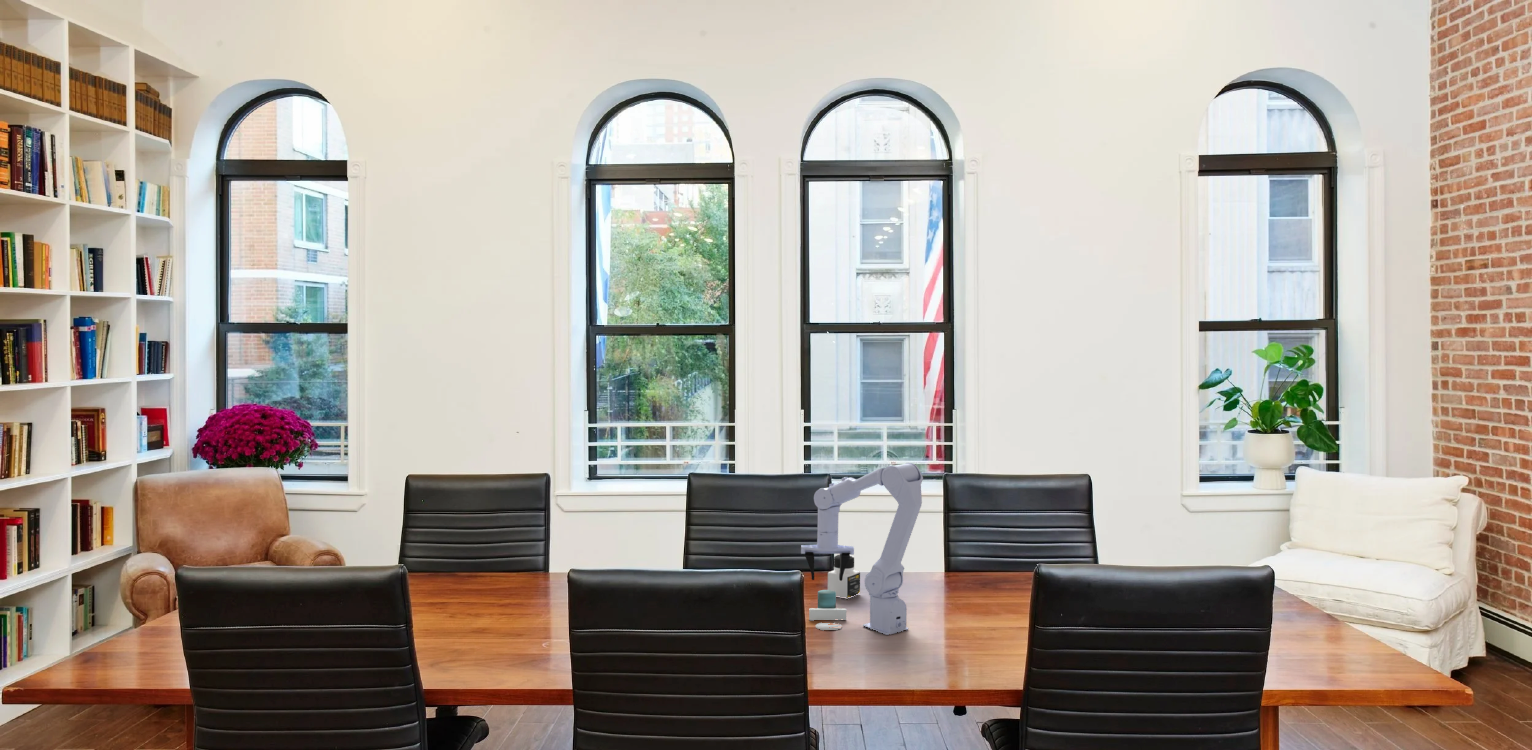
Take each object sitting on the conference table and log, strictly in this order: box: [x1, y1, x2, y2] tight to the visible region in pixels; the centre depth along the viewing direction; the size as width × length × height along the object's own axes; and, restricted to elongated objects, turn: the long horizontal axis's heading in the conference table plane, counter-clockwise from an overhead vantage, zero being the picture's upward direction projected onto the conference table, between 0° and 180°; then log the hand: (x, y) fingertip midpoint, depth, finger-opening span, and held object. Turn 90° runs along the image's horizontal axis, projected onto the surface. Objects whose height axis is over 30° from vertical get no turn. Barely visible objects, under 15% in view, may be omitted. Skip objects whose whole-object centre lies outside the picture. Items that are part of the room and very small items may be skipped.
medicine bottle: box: [827, 554, 861, 598], centre depth 270 cm, size 7×7×12 cm
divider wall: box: [808, 607, 847, 621], centre depth 246 cm, size 10×1×3 cm, turn 89°
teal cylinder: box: [817, 589, 837, 609], centre depth 252 cm, size 5×5×6 cm
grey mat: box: [815, 622, 843, 631], centre depth 240 cm, size 7×7×1 cm
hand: (826, 579), depth 252 cm, fingers open, 7 cm apart
